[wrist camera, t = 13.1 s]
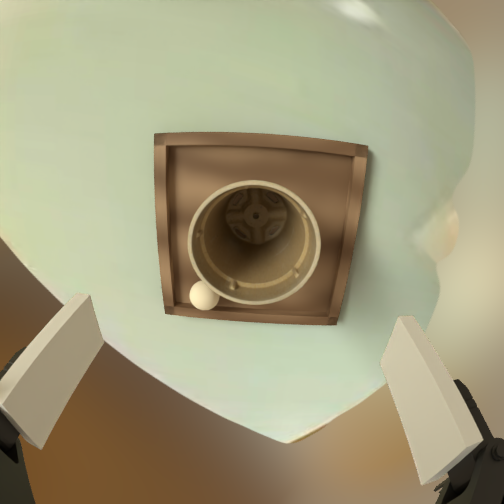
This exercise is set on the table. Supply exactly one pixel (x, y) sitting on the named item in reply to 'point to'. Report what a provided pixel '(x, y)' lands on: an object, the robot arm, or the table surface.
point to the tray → (265, 169)
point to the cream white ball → (203, 296)
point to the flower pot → (254, 243)
